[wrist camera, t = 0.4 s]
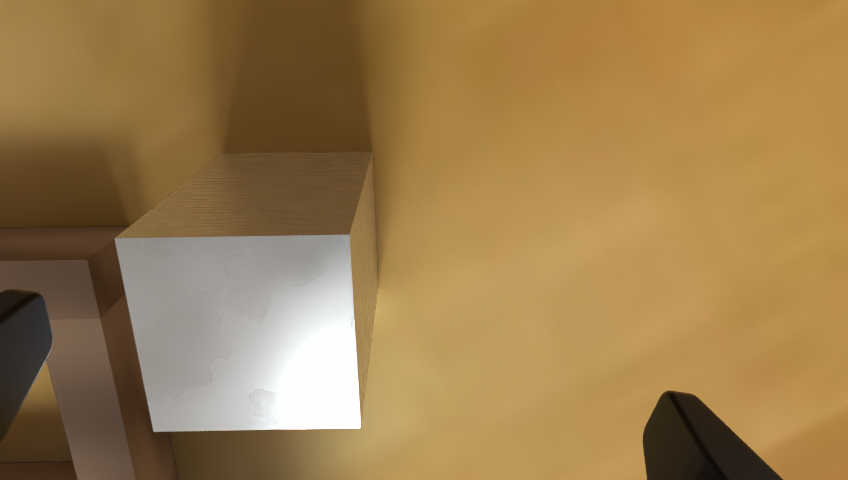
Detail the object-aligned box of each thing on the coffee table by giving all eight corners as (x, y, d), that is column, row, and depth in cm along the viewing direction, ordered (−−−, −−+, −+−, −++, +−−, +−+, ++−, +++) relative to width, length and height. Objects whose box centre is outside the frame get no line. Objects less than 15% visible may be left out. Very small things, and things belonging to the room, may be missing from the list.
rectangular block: (378, 286, 23) (360, 428, 15) (240, 289, 22) (153, 431, 15) (372, 151, 21) (349, 234, 13) (222, 153, 21) (114, 238, 13)
